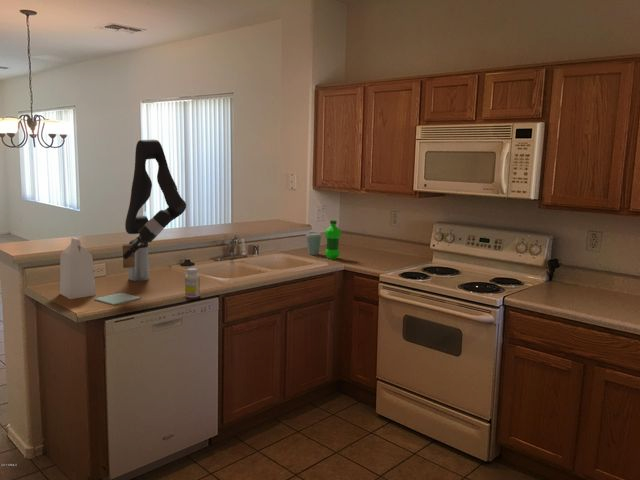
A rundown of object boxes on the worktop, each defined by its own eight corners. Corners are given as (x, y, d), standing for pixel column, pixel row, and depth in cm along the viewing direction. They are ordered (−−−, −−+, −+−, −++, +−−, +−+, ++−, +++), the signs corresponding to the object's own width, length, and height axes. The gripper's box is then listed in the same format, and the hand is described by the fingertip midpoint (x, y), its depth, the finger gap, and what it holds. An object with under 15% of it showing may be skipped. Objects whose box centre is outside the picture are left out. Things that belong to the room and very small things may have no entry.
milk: (60, 293, 247) (57, 237, 243) (85, 290, 255) (83, 235, 251) (69, 299, 238) (67, 241, 234) (95, 295, 246) (93, 239, 242)
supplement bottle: (193, 293, 254) (193, 267, 252) (202, 296, 249) (202, 269, 247) (182, 296, 248) (181, 269, 246) (191, 298, 244) (190, 271, 242)
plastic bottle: (321, 258, 353) (322, 220, 349) (331, 256, 361) (332, 219, 357) (333, 260, 346) (334, 222, 342) (343, 258, 354) (344, 220, 350)
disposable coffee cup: (323, 255, 365) (324, 233, 362) (310, 256, 359) (310, 234, 357) (316, 252, 374) (316, 231, 371) (302, 253, 368) (303, 231, 366)
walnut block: (123, 265, 246) (122, 244, 245) (134, 265, 248) (134, 243, 247) (123, 267, 242) (122, 246, 240) (135, 267, 243) (134, 245, 242)
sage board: (94, 299, 238) (94, 298, 238) (121, 293, 249) (121, 292, 249) (113, 305, 230) (113, 303, 230) (140, 298, 242) (140, 297, 242)
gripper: (144, 222, 251) (117, 248, 249) (145, 226, 238) (117, 253, 236) (156, 233, 254) (130, 259, 251) (158, 237, 241) (130, 265, 238)
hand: (124, 256), depth 243 cm, fingers closed on walnut block, 5 cm apart
